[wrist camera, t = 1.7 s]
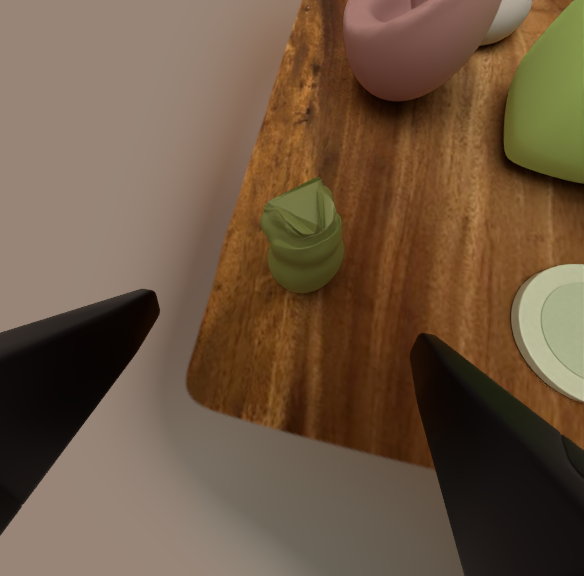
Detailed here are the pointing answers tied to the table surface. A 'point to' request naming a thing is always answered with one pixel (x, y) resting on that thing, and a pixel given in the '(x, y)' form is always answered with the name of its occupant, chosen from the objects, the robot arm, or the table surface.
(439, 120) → the table surface
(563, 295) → the plate
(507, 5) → the donut
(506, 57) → the table surface
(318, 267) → the olive green lumpy piece
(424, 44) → the mortar and pestle
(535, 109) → the teapot
